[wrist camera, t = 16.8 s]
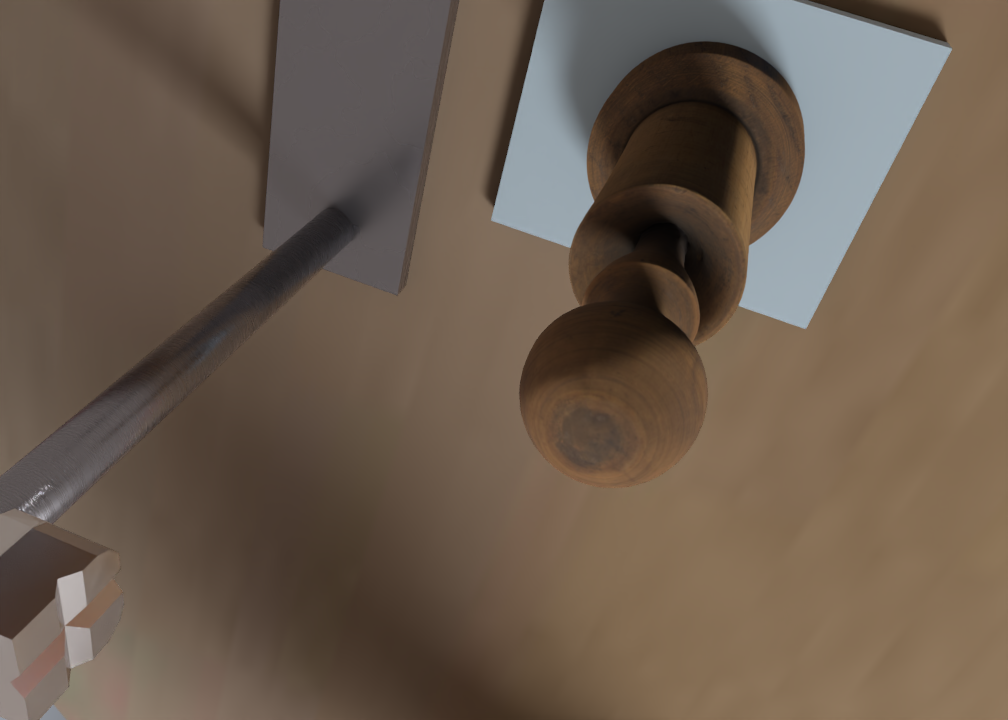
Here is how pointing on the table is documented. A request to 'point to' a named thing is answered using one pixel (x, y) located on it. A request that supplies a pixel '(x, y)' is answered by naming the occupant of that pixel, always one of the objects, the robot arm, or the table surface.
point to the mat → (793, 53)
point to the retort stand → (286, 217)
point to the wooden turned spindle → (660, 258)
